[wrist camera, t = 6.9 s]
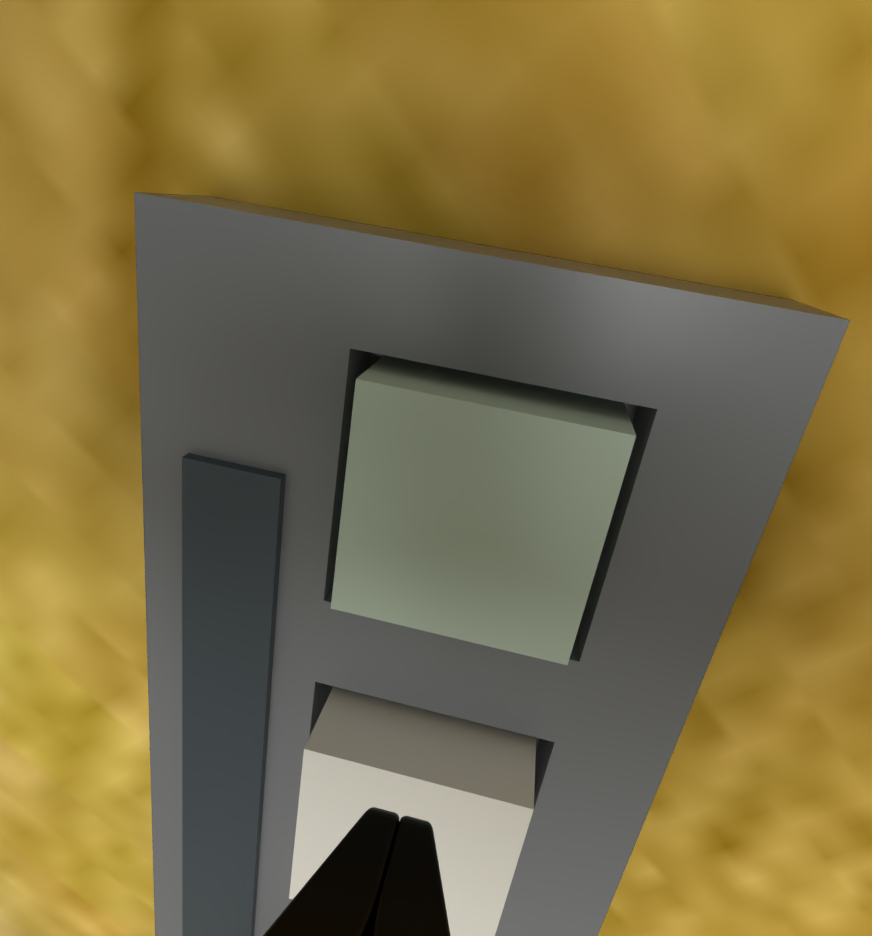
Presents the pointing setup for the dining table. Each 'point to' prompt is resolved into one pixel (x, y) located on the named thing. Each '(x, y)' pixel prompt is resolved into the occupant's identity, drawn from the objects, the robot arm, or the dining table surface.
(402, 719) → the key offwhite
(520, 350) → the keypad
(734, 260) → the dining table surface
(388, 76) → the dining table surface
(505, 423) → the key sage
